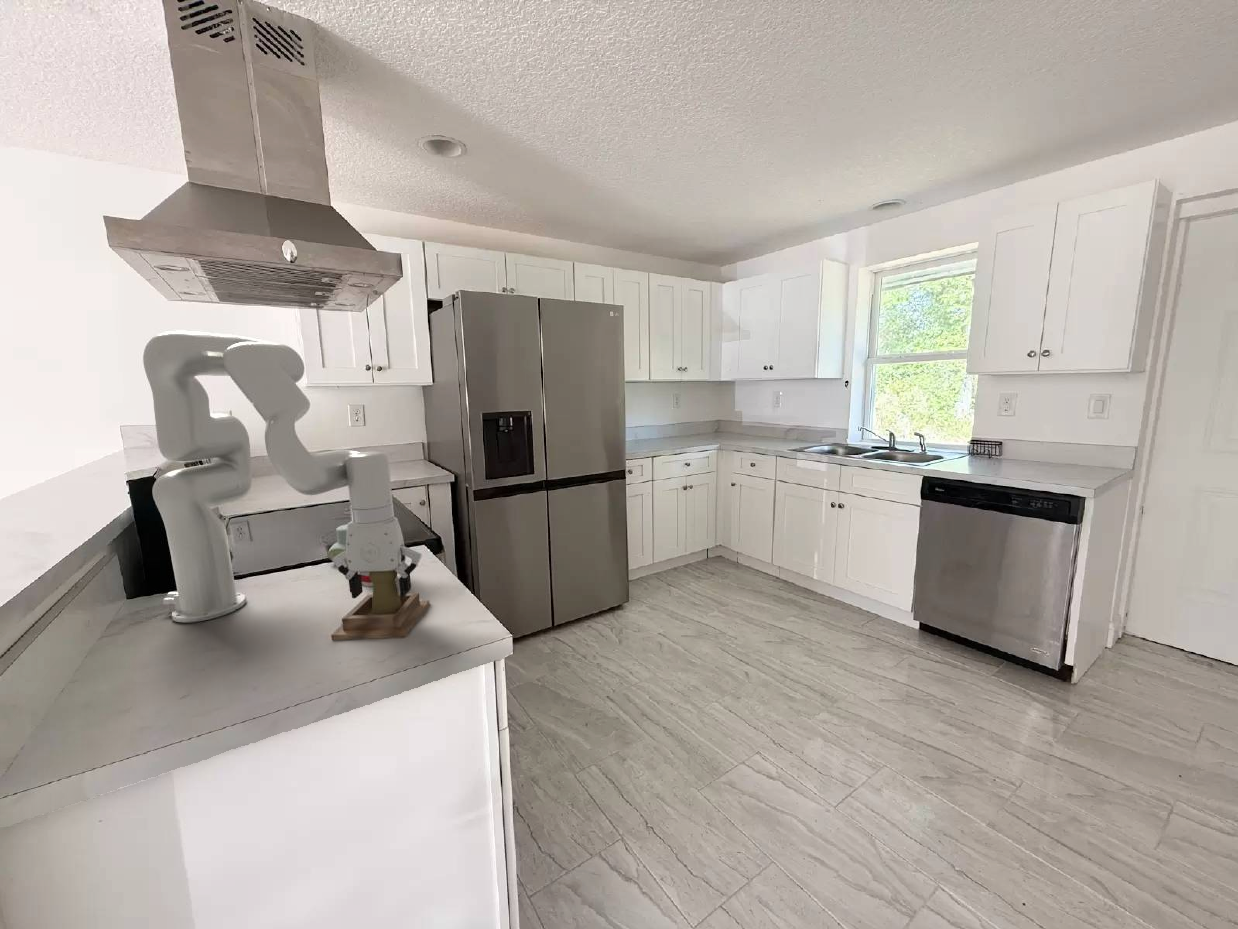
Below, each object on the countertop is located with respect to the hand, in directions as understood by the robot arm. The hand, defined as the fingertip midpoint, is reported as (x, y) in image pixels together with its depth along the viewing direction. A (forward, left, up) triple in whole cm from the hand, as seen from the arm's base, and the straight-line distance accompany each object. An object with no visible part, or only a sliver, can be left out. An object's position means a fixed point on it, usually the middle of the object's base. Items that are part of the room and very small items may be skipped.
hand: (381, 594), depth 101 cm
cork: (+1, 0, -5) cm, 5 cm away
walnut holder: (0, 0, -6) cm, 6 cm away
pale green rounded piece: (-24, +36, -6) cm, 44 cm away
